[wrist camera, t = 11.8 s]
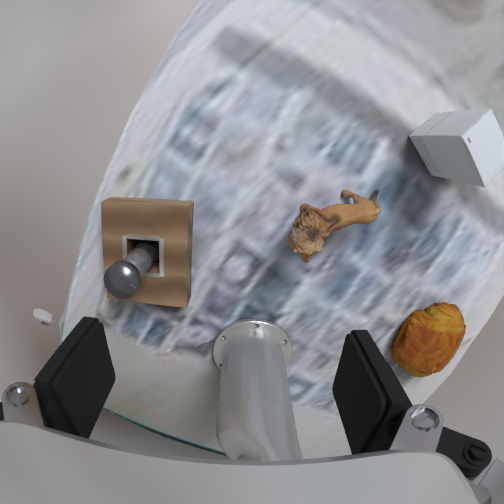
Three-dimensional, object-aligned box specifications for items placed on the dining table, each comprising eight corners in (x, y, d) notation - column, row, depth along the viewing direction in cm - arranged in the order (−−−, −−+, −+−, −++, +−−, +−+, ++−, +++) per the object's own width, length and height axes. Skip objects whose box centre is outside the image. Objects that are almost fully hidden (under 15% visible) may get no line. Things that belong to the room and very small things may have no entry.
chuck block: (190, 296, 44) (186, 308, 41) (116, 287, 44) (107, 298, 40) (193, 201, 40) (188, 206, 36) (111, 197, 39) (100, 201, 36)
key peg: (164, 262, 42) (138, 301, 31) (138, 259, 42) (105, 296, 31) (164, 235, 41) (136, 267, 30) (137, 233, 41) (102, 263, 29)
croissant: (458, 303, 49) (484, 317, 41) (425, 371, 51) (445, 391, 44) (410, 286, 47) (437, 301, 39) (374, 364, 49) (393, 388, 41)
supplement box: (430, 176, 39) (484, 190, 27) (407, 135, 37) (460, 134, 25) (458, 152, 37) (513, 159, 26) (437, 111, 36) (491, 106, 24)
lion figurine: (291, 249, 42) (302, 274, 34) (275, 215, 41) (282, 232, 32) (382, 205, 40) (413, 220, 32) (370, 171, 39) (400, 178, 30)
